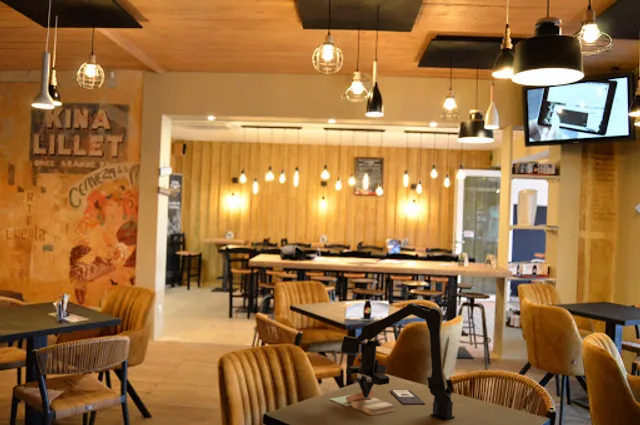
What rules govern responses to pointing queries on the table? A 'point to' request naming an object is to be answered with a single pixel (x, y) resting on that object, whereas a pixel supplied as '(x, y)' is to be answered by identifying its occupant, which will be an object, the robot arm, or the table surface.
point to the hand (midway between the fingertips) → (366, 397)
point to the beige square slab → (372, 406)
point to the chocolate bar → (407, 397)
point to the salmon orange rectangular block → (358, 396)
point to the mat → (342, 400)
